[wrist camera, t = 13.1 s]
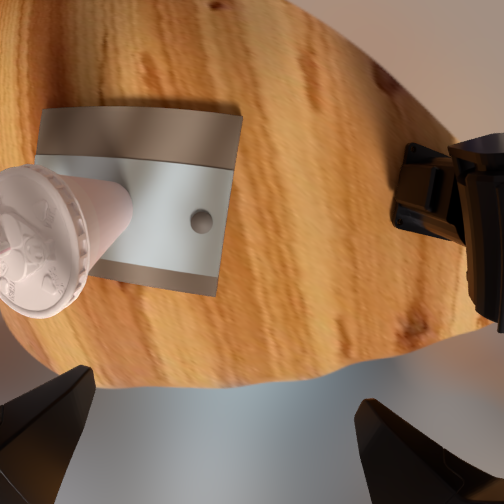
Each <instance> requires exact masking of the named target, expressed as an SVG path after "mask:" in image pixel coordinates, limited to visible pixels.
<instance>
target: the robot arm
mask: <svg viewBox="0 0 504 504" xmlns="http://www.w3.org/2000/svg"><path fill="white" fill-rule="evenodd" d="M411 147H413V148H414V151H413V152H412V151H411ZM448 151H449V155H450V156H451V157H452V158H451V157H448V156H446V155H444V154H441V153H439V152H437V151H434V150H432V149H429V148H427V147H424V146H421V145H419V144H416V143H408V144H407V145H406V148H405V155H404V162H403V166H402V167H401V171H400V177H399V182H398V188H397V193H396V205H395V210H394V214H393V219H392V224H393V226H394V227H396V228H398V229H402V230H406V231H411V232H415V233H419V234H423V235H428V236H432V237H436V238H440V239H444V240H448V241H454V242H456V243H458V244H460V245H462V246H465V247H466V253H467V268H468V271H467V272H466V275H467V281H468V292H469V296H470V298H471V300H472V301H473V303H474V304H475V305H476V306H475V310H476V312H478V313H479V314H480V315H482V316H483V317H485V318H486V319H489V320H491V321H493V322H495V323H498V329H497V331H498V333H504V133H494V134H489V135H485V136H482V137H478V138H475V139H471V140H467V141H464V142H460V143H457V144H454V145H450V146H448ZM399 219H400V224H397V221H398V220H399ZM95 390H96V385H95V380H94V374H93V370H92V368H91V367H88V366H84V365H79V366H77V367H75V368H73V369H71V370H69V371H67V372H65V373H63V374H61V375H60V376H58V377H56V378H54V379H52V380H50V381H48V382H46V383H44V384H42V385H40V386H38V387H36V388H34V389H33V390H30V391H29V392H27V393H25V394H23V395H21V396H19V397H17V398H15V399H13V400H11V401H9V402H7V403H5V404H4V405H1V406H0V504H54V502H55V499H56V497H57V494H58V491H59V488H60V486H61V483H62V480H63V478H64V475H65V473H66V470H67V468H68V465H69V463H70V460H71V458H72V455H73V452H74V450H75V448H76V446H77V443H78V441H79V439H80V436H81V434H82V432H83V429H84V426H85V423H86V420H87V416H88V413H89V410H90V407H91V403H92V400H93V397H94V394H95ZM354 422H355V429H356V435H357V442H358V448H359V455H360V459H361V463H362V466H363V470H364V474H365V478H366V482H367V486H368V489H369V493H370V497H371V501H372V504H504V479H502V478H497V477H494V476H492V475H490V474H488V473H486V472H483V471H482V470H480V469H478V468H476V467H474V466H472V465H471V464H469V463H467V462H465V461H463V460H462V459H460V458H458V457H457V456H455V455H454V454H452V453H451V452H449V451H448V450H446V449H443V447H442V446H440V445H439V444H438V443H436V442H435V441H433V440H432V439H430V438H429V437H427V436H426V435H425V434H423V433H422V432H420V431H419V430H418V429H416V428H415V427H413V426H412V425H411V424H409V423H408V422H406V421H405V420H403V419H402V418H401V417H399V416H398V415H396V414H395V413H394V412H392V411H391V410H390V409H388V408H387V407H386V406H384V405H383V404H382V403H380V402H379V401H378V400H376V399H374V398H370V399H364V400H363V401H362V402H361V404H360V406H359V408H358V410H357V412H356V414H355V417H354Z"/></svg>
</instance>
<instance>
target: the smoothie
mask: <svg viewBox="0 0 504 504" xmlns="http://www.w3.org/2000/svg"><path fill="white" fill-rule="evenodd" d="M132 215H133V204H132V200H131V197H130V195H129V193H128V192H127V190H126V189H125V188H124V187H123V186H121V185H120V184H118V183H116V182H112V181H105V180H98V179H90V178H82V177H74V176H66V175H60V174H56V173H55V172H54V171H52V170H50V169H48V168H46V167H43V166H41V165H33V164H25V165H22V166H19V167H12V168H8V169H5V170H3V171H1V172H0V298H1V299H2V300H3V301H4V302H5V303H6V304H7V305H8V306H9V307H11V308H12V309H13V310H15V311H17V312H18V313H20V314H22V315H25V316H27V317H31V318H38V319H42V318H48V317H51V316H54V315H56V314H57V313H59V312H60V311H61V310H63V309H64V308H66V307H67V306H69V305H70V304H71V303H72V302H73V301H74V300H75V299H77V298H78V296H79V294H80V292H81V291H82V289H83V287H84V285H85V284H86V280H87V276H88V272H89V271H90V269H91V268H92V267H93V266H94V264H95V263H96V262H97V261H98V260H99V259H100V257H101V256H102V255H103V254H104V253H105V251H106V250H107V249H108V248H109V247H110V246H111V245H112V243H113V242H114V241H115V240H116V239H117V238H118V237H119V235H120V234H121V233H122V232H123V231H124V230H125V229H126V228H127V226H128V225H129V223H130V221H131V219H132Z"/></svg>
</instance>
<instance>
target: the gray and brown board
mask: <svg viewBox="0 0 504 504" xmlns="http://www.w3.org/2000/svg"><path fill="white" fill-rule="evenodd" d="M242 121H243V116H236V115H229V114H222V113H213V112H204V111H195V110H184V109H171V108H155V107H128V106H92V107H66V108H51V109H43V111H42V116H41V122H40V129H39V135H38V143H37V151H36V155H35V164H34V165H41V166H43V167H46V168H48V169H50V170H52V171H54V172H55V173H56V174H60V175H66V176H74V177H82V178H90V179H98V180H105V181H112V182H116V183H118V184H120V185H121V186H123V187H124V188H125V189H126V190H127V192H128V193H129V195H130V197H131V200H132V204H133V215H132V219H131V221H130V223H129V225H128V226H127V228H126V229H125V230H124V231H123V232H122V233H121V234H120V235H119V237H118V238H117V239H116V240H115V241H114V242H113V243H112V245H111V246H110V247H109V248H108V249H107V250H106V251H105V253H104V254H103V255H102V256H101V257H100V259H99V260H98V261H97V262H96V263H95V264H94V266H93V267H92V268H91V269H90V271H89V272H88V275H90V276H95V277H100V278H105V279H110V280H116V281H121V282H126V283H132V284H137V285H143V286H149V287H155V288H161V289H167V290H173V291H179V292H185V293H192V294H198V295H205V296H212V297H216V291H217V284H218V276H219V269H220V262H221V255H222V247H223V240H224V233H225V227H226V220H227V213H228V207H229V200H230V194H231V187H232V181H233V174H234V168H235V162H236V156H237V150H238V144H239V138H240V132H241V126H242Z"/></svg>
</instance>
